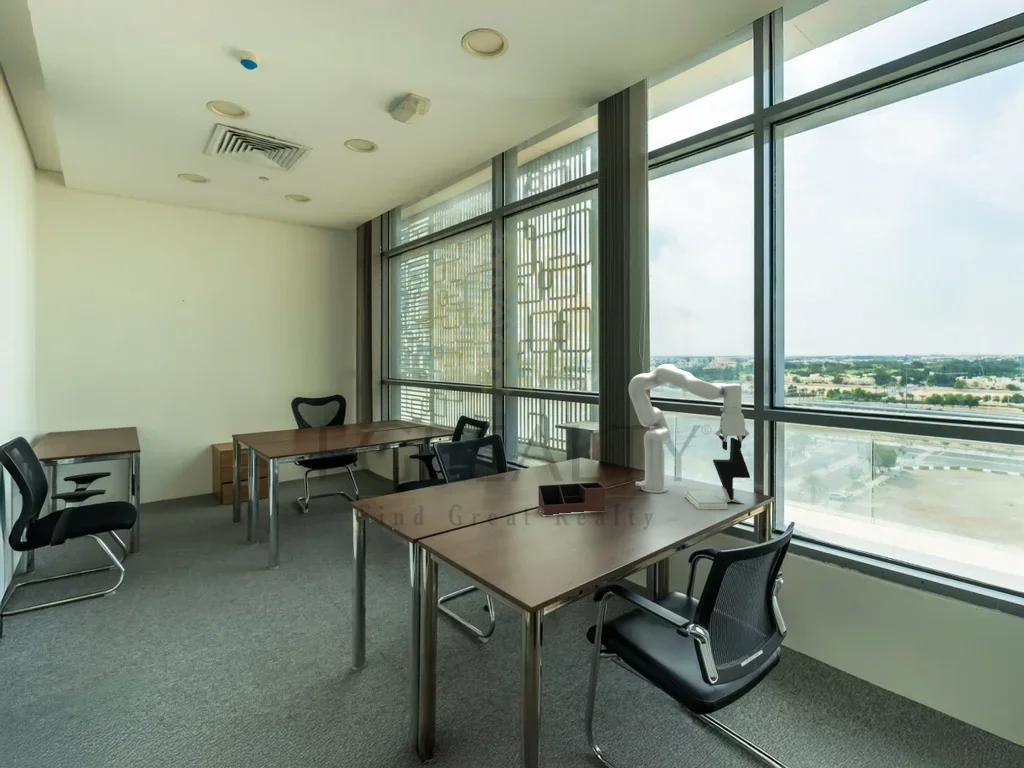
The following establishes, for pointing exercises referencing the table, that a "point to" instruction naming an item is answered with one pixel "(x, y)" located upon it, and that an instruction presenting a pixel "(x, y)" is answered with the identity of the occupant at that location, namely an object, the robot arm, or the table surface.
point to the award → (731, 470)
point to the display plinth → (705, 500)
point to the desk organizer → (571, 498)
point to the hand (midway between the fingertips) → (731, 449)
